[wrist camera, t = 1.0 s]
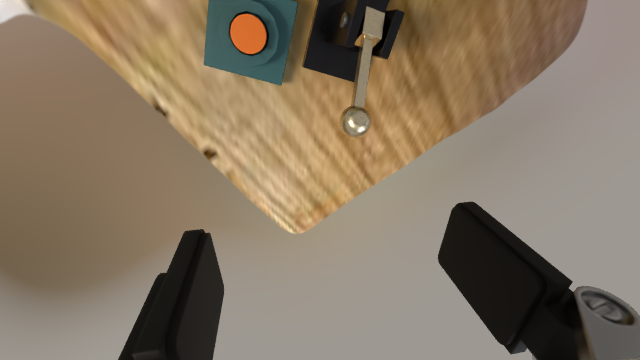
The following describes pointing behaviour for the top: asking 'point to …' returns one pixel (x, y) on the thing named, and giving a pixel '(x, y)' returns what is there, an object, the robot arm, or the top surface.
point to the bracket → (345, 36)
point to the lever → (362, 74)
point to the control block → (269, 63)
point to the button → (248, 33)
